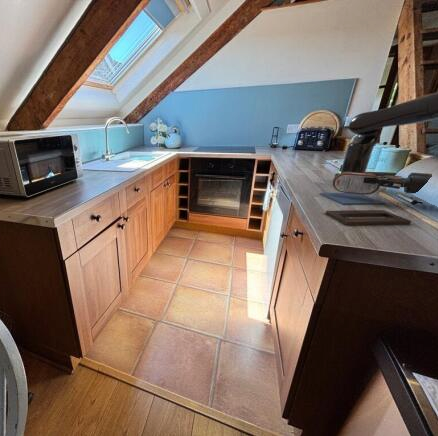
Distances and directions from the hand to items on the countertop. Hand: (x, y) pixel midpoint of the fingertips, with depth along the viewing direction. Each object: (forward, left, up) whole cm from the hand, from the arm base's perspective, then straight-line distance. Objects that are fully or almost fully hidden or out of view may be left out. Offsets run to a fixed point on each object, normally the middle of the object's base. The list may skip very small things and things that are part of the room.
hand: (363, 179), depth 97 cm
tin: (-1, -2, -6) cm, 7 cm away
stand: (+20, -13, -9) cm, 25 cm away
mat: (-1, -2, -9) cm, 9 cm away
